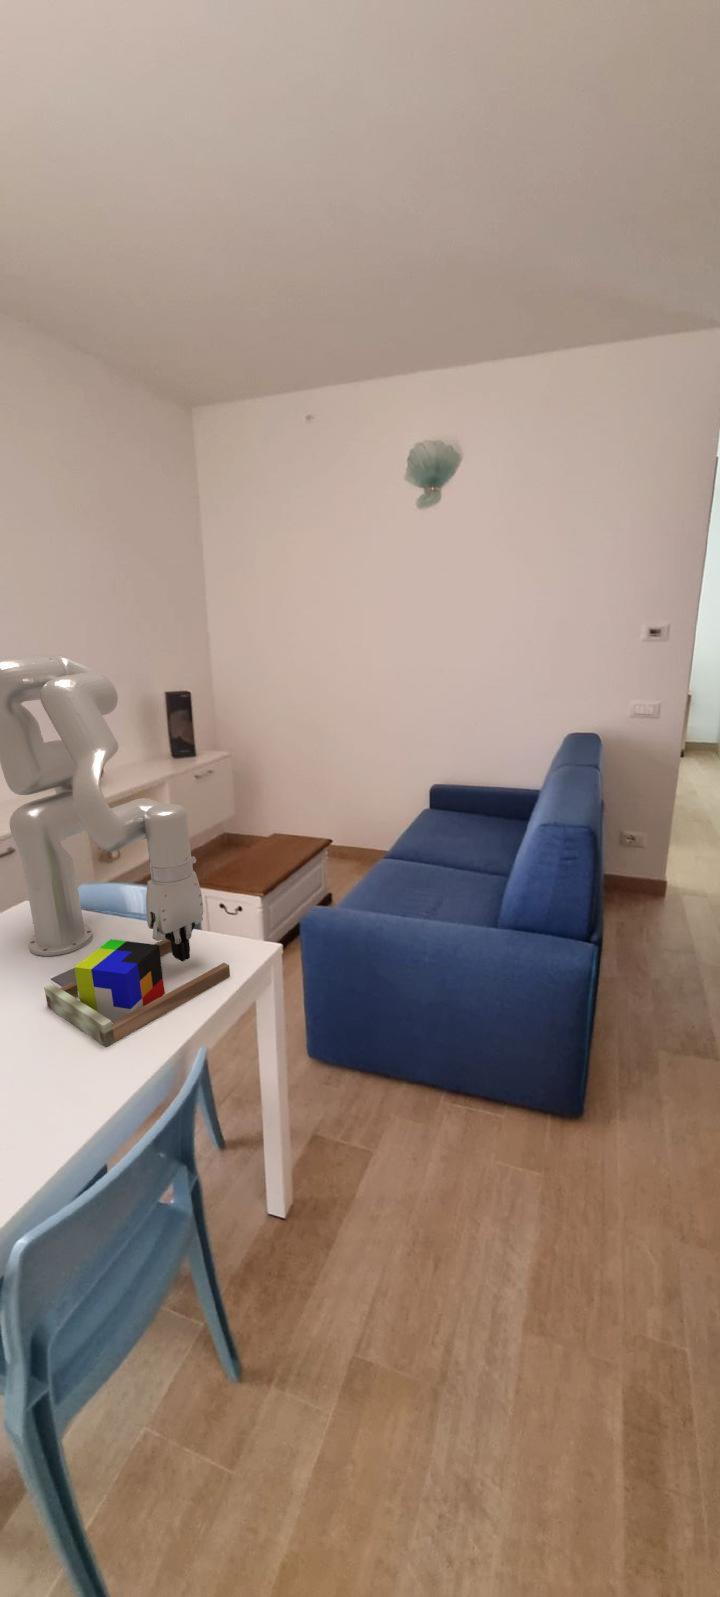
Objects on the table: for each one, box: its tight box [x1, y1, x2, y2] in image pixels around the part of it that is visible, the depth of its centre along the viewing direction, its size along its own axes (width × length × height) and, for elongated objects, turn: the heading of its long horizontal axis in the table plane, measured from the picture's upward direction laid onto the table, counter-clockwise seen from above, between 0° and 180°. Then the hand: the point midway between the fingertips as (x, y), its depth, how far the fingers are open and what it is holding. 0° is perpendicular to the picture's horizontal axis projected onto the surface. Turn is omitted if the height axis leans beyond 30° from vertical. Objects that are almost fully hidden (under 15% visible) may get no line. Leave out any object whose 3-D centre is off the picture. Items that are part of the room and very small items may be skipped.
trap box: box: [43, 939, 231, 1048], centre depth 119 cm, size 19×26×4 cm
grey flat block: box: [50, 967, 78, 990], centre depth 124 cm, size 8×6×1 cm
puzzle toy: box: [73, 938, 166, 1023], centre depth 114 cm, size 10×10×10 cm
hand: (181, 957), depth 125 cm, fingers closed
